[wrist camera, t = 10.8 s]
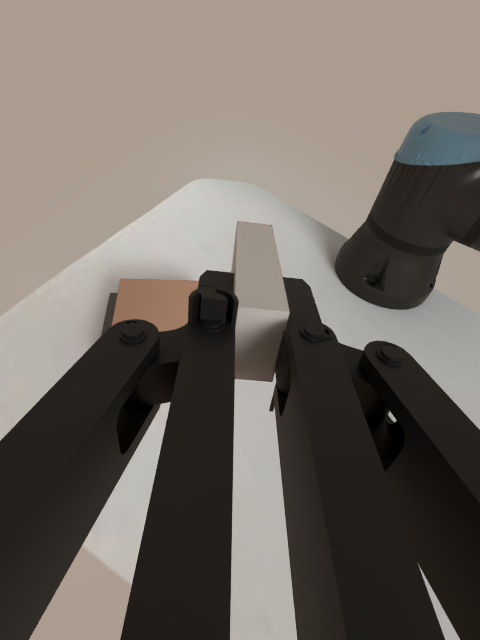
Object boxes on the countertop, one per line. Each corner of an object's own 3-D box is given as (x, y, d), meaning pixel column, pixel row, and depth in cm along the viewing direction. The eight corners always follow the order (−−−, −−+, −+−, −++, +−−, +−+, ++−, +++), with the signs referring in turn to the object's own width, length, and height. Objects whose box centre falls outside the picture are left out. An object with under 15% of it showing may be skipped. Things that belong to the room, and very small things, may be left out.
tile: (111, 383, 36) (124, 302, 43) (206, 381, 37) (202, 303, 45) (104, 362, 33) (120, 278, 40) (208, 361, 34) (204, 280, 42)
